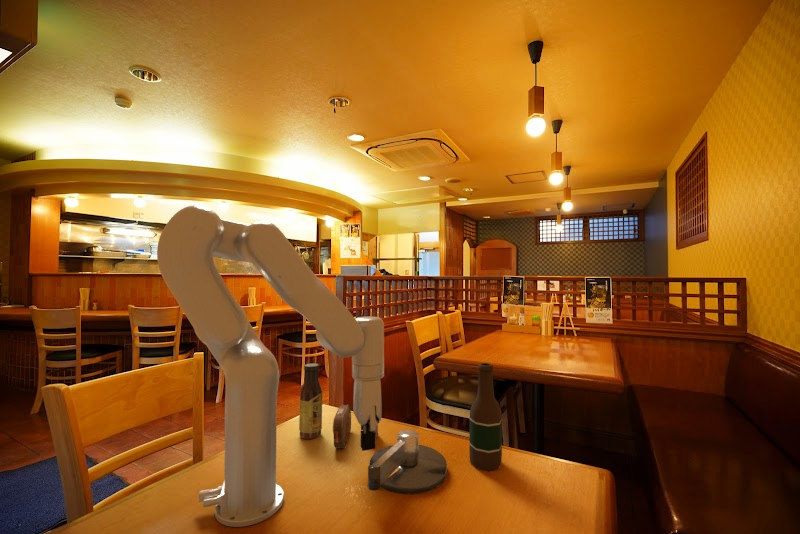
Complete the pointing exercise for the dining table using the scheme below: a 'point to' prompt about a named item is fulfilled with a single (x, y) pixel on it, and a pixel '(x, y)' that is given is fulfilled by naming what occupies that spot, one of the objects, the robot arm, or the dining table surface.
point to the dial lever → (394, 458)
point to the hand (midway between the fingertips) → (367, 448)
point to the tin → (342, 426)
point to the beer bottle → (485, 424)
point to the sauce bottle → (310, 404)
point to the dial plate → (416, 472)
